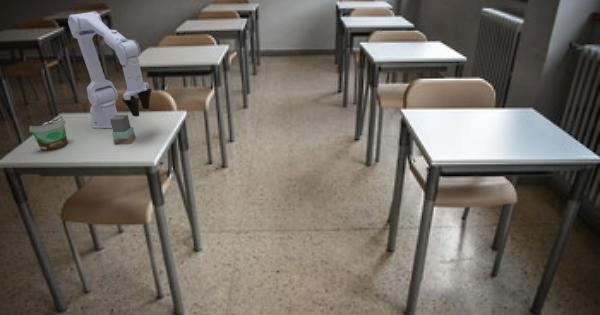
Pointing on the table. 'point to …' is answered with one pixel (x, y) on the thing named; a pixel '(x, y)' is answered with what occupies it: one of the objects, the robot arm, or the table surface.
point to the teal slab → (123, 134)
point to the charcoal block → (120, 123)
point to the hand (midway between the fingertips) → (141, 112)
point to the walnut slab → (124, 140)
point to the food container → (50, 134)
